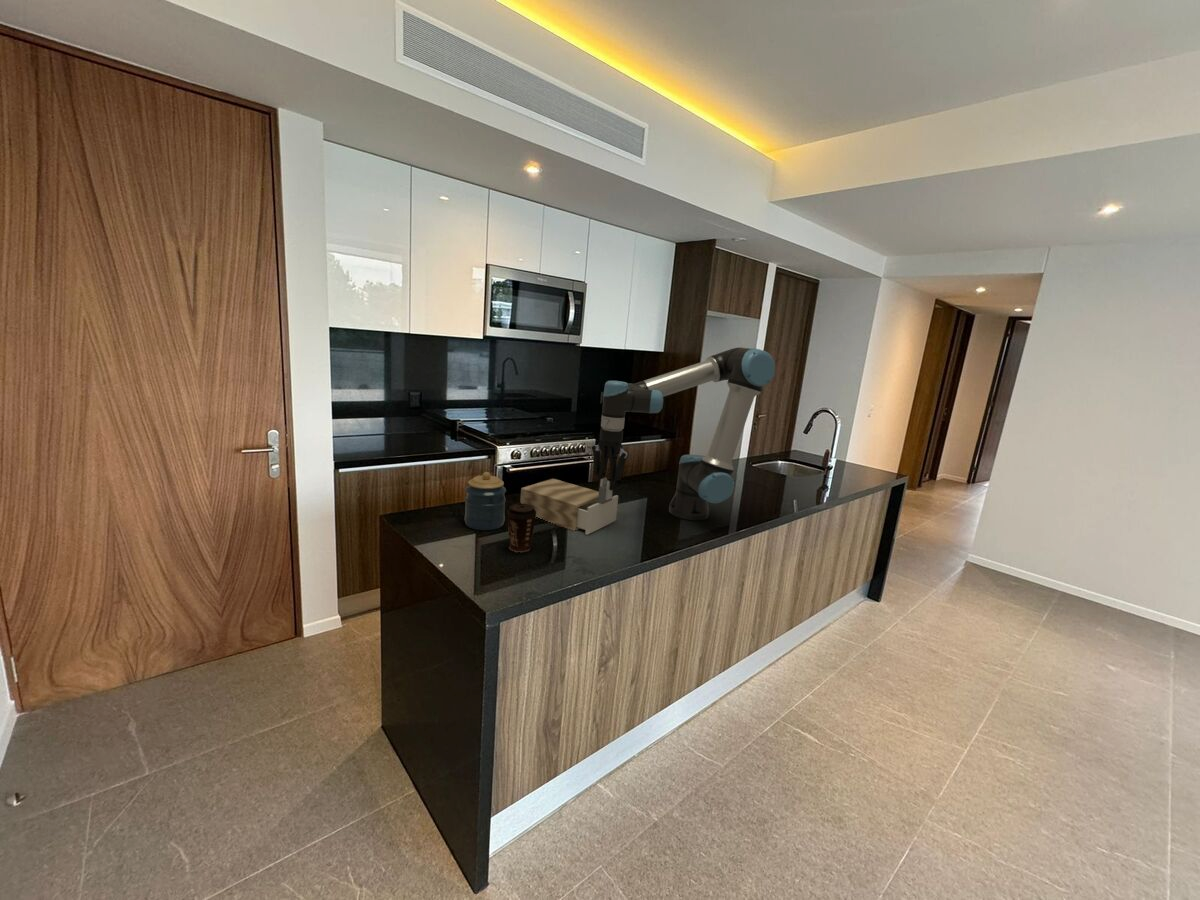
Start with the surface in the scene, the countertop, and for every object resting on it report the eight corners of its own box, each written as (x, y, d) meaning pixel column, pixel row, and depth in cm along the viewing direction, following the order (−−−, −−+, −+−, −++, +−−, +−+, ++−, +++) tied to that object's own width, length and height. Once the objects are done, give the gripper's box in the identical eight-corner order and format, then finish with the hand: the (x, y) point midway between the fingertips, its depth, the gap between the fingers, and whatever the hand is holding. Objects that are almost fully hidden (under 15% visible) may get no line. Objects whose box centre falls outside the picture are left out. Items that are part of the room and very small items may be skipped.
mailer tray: (618, 521, 177) (622, 481, 174) (589, 535, 162) (593, 492, 159) (562, 503, 190) (565, 466, 186) (531, 515, 175) (534, 475, 172)
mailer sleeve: (603, 517, 180) (605, 493, 178) (574, 531, 165) (576, 505, 163) (551, 500, 193) (552, 478, 191) (519, 512, 178) (521, 488, 176)
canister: (457, 527, 160) (458, 474, 156) (474, 514, 172) (476, 464, 168) (495, 533, 158) (498, 480, 154) (510, 519, 170) (512, 469, 166)
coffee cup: (515, 539, 155) (517, 499, 152) (539, 545, 152) (542, 505, 149) (500, 549, 147) (502, 508, 144) (524, 556, 144) (527, 514, 141)
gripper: (586, 426, 163) (580, 494, 168) (625, 434, 155) (618, 506, 161) (599, 423, 169) (593, 490, 175) (637, 431, 162) (630, 500, 167)
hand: (605, 497), depth 168 cm, fingers closed on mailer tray, 2 cm apart
